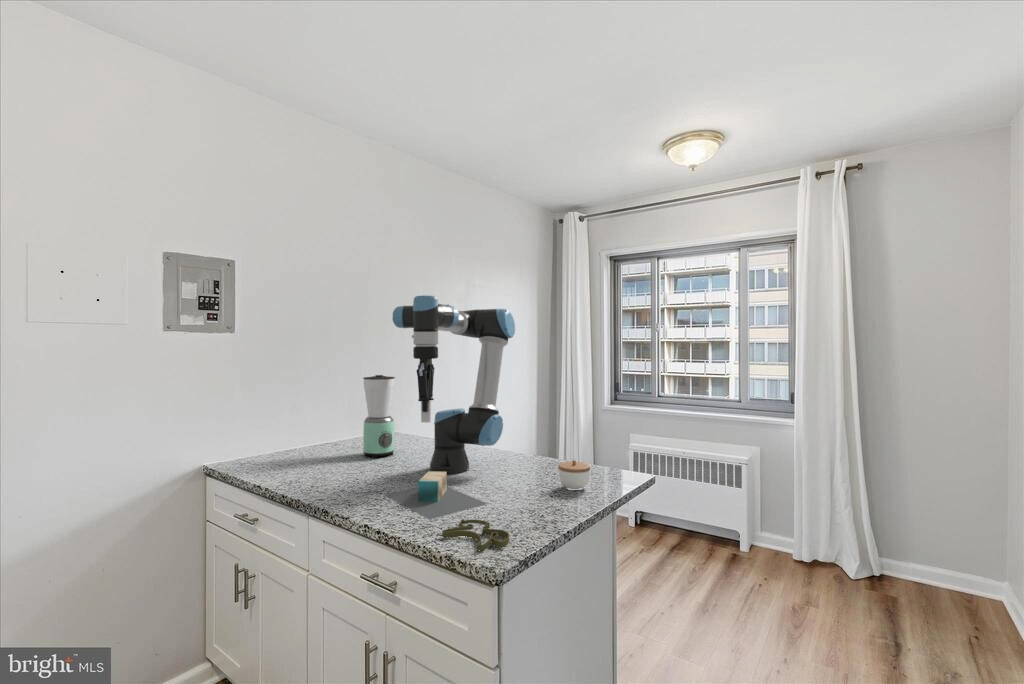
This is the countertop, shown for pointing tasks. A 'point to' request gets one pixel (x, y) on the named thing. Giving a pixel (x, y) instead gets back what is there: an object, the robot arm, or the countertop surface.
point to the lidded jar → (574, 474)
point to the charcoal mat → (446, 504)
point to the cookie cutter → (492, 532)
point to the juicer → (378, 416)
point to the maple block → (432, 486)
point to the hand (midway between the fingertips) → (426, 421)
